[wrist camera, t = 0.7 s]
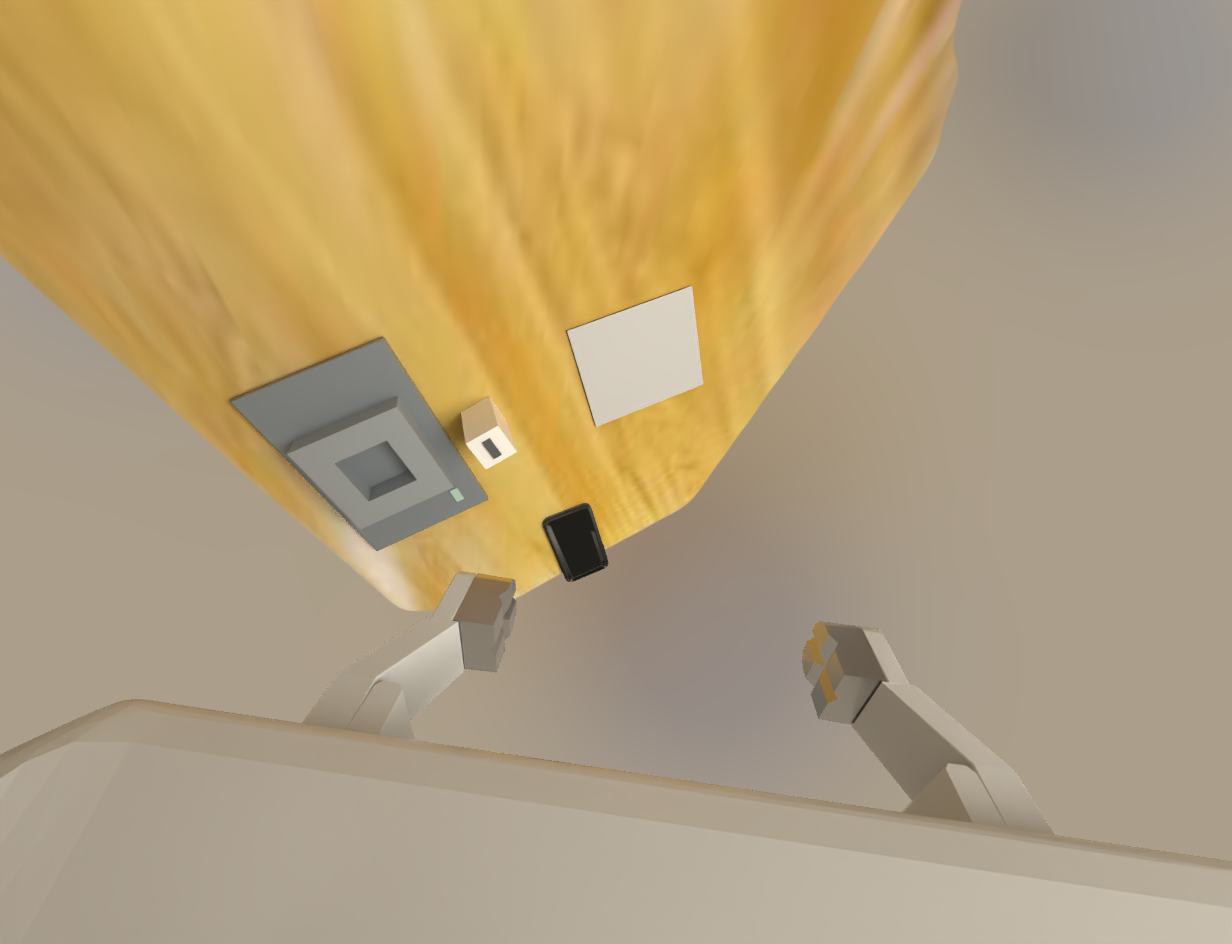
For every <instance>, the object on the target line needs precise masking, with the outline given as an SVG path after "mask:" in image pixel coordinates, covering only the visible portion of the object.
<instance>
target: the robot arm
mask: <svg viewBox="0 0 1232 944" xmlns="http://www.w3.org/2000/svg"><path fill="white" fill-rule="evenodd" d="M515 590H516V584H515V580H514V579H509V578H503V577H497V576H490V575H484V574H476V573H470V572H464V571H459V572H458V573H457V574H456V575H455V577H454V578H453V580H452V582H451V584H450V586H449V587H448V589H447V591H446V593H445V594H444V596H443V598H442V600H441V601H440V603H439V605H438V607H437V609H436V610H435V612H434V614H433V616H432V617H431V618H430V617H425V618H424V619H422V620H420V621H419V622H417V623H416V624H414V625H412V626H411V627H409V628H408V629H406V630H405V631H403V632H401V633H400V634H398V635H397V636H395V637H393V638H392V639H390V640H389V641H387V642H385V643H384V644H383V645H381V646H379V647H377V648H376V649H374V650H373V651H371V652H370V653H368V654H367V655H365V656H363V657H362V658H360V659H358V660H357V661H356V662H354V663H352V664H351V665H349V666H347V667H346V668H344V669H343V670H341V671H340V672H338V673H337V674H336V676H335V677H334V679H333V680H332V681H331V683H330V684H329V686H328V687H327V688H326V690H325V691H324V693H323V694H322V696H321V697H320V698H319V700H318V701H317V703H316V704H315V706H314V707H313V708H312V710H311V711H310V713H309V714H308V716H307V717H306V718H305V720H304V721H303V723H296V722H290V721H282V720H276V719H269V718H262V717H256V716H249V715H243V714H236V713H229V712H222V711H216V710H209V709H202V708H195V707H189V706H182V705H176V704H170V703H164V702H157V701H151V700H142V699H131V700H124V701H120V702H117V703H114V704H111V705H109V706H106V707H104V708H101V709H99V710H96V711H94V712H91V713H89V714H87V715H85V716H82V717H80V718H78V719H76V720H73V721H71V722H69V723H67V724H64V725H62V726H60V727H58V728H56V729H53V730H51V731H49V732H47V733H45V734H43V735H41V736H38V737H36V738H34V739H32V740H30V741H28V742H26V743H23V744H21V745H19V746H17V747H15V748H13V749H11V750H9V751H7V752H5V753H3V754H1V755H0V944H1232V861H1226V860H1220V859H1213V858H1206V857H1200V856H1193V855H1186V854H1179V853H1172V852H1166V851H1158V850H1151V849H1145V848H1139V847H1131V846H1125V845H1118V844H1112V843H1105V842H1098V841H1091V840H1084V839H1078V838H1071V837H1064V836H1058V835H1055V834H1054V833H1053V831H1052V829H1051V828H1050V826H1049V825H1048V823H1047V822H1046V820H1045V818H1044V817H1043V815H1042V813H1041V812H1040V810H1039V809H1038V807H1037V805H1036V804H1035V802H1034V801H1033V799H1032V798H1031V796H1030V794H1029V793H1028V791H1027V790H1026V788H1025V787H1024V785H1023V783H1022V782H1021V780H1020V778H1019V777H1018V775H1017V774H1016V772H1015V771H1014V770H1013V769H1012V768H1010V767H1009V766H1008V765H1007V764H1006V763H1005V762H1003V761H1002V760H1001V759H1000V758H999V757H998V756H996V755H995V754H994V753H993V752H992V751H991V750H989V749H988V748H987V747H986V746H985V745H984V744H982V743H981V742H980V741H979V740H978V739H977V738H975V737H974V736H973V735H972V734H971V733H970V732H969V731H967V730H966V729H965V728H964V727H963V726H962V725H960V724H959V723H958V722H957V721H956V720H955V719H953V718H952V717H951V716H950V715H949V714H948V713H946V712H945V711H944V710H943V709H942V708H941V707H939V706H938V705H937V704H936V703H935V702H933V701H932V700H931V699H930V698H929V697H928V696H927V695H925V694H924V693H923V692H922V691H921V690H920V689H918V688H917V687H916V686H911V685H909V683H908V681H907V679H906V677H905V675H904V673H903V672H902V670H901V667H900V666H899V664H898V662H897V660H896V658H895V656H894V654H893V652H892V650H891V649H890V647H889V645H888V643H887V641H886V639H885V637H884V635H883V634H882V632H881V631H880V630H879V629H875V628H868V627H860V626H853V625H845V624H837V623H830V622H821V621H819V622H818V623H816V624H815V626H814V628H813V630H812V631H813V634H814V638H812V639H811V640H809V641H807V643H806V645H805V647H804V649H803V657H802V663H803V670H804V673H805V677H806V679H807V680H808V681H809V682H810V683H811V684H812V685H813V686H814V688H813V690H812V693H811V696H812V700H813V703H814V706H815V709H816V712H817V716H818V719H823V720H828V721H834V722H840V723H846V724H851V725H852V727H853V728H854V729H855V731H856V732H857V733H858V735H859V736H860V737H861V738H862V739H863V741H864V742H865V743H866V744H867V745H868V747H869V748H870V749H871V751H872V752H873V753H874V754H875V756H876V757H877V758H878V759H879V760H880V762H881V763H882V764H883V765H884V767H885V768H886V769H887V770H888V771H889V773H890V774H891V775H892V776H893V778H894V779H895V780H896V781H897V783H898V784H899V785H900V786H901V787H902V789H903V790H904V791H905V793H906V794H907V795H908V796H909V798H910V799H911V800H912V802H911V803H910V804H909V805H908V806H907V807H906V808H905V809H904V810H903V811H902V812H896V811H889V810H882V809H876V808H868V807H862V806H855V805H849V804H842V803H835V802H828V801H822V800H814V799H808V798H801V797H795V796H788V795H781V794H774V793H767V792H761V791H754V790H747V789H740V788H734V787H727V786H720V785H714V784H706V783H699V782H693V781H686V780H680V779H672V778H666V777H659V776H652V775H645V774H638V773H632V772H625V771H619V770H612V769H605V768H598V767H592V766H585V765H578V764H571V763H565V762H558V761H551V760H544V759H538V758H530V757H524V756H518V755H511V754H504V753H497V752H490V751H484V750H477V749H471V748H464V747H457V746H450V745H444V744H436V743H430V742H423V741H416V740H415V738H414V734H413V730H412V726H411V722H410V720H411V719H412V718H413V717H414V716H415V715H416V714H418V713H419V712H420V711H421V710H422V709H423V708H424V707H425V706H426V705H427V704H428V703H429V702H431V701H432V700H433V699H434V698H435V697H436V696H437V695H438V694H439V693H440V692H442V691H443V690H444V689H445V688H446V687H447V686H448V685H449V684H450V683H451V682H453V681H454V680H455V679H456V678H457V677H458V676H459V675H460V674H461V673H462V672H463V671H464V669H471V670H480V671H489V672H497V670H498V668H499V665H500V662H501V659H502V656H503V654H504V651H505V647H504V646H505V644H504V640H505V639H506V638H508V637H509V636H510V634H511V631H512V628H513V624H514V619H515V614H516V600H515V599H514V598H513V596H514V593H515Z"/></svg>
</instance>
